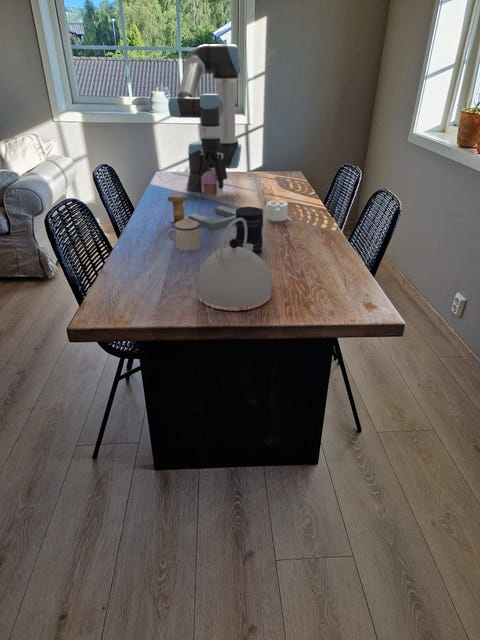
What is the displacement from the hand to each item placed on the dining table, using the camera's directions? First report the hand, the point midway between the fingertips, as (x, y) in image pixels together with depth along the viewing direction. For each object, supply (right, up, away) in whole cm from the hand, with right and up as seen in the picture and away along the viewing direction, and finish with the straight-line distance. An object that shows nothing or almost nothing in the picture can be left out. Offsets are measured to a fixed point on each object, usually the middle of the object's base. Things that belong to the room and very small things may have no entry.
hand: (212, 193), depth 189 cm
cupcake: (0, -1, 0) cm, 1 cm away
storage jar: (+15, -29, -26) cm, 41 cm away
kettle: (+11, -45, -53) cm, 71 cm away
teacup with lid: (-9, -27, -23) cm, 37 cm away
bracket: (+28, -6, +12) cm, 31 cm away
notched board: (+2, -10, +4) cm, 11 cm away
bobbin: (-14, -12, +1) cm, 19 cm away
